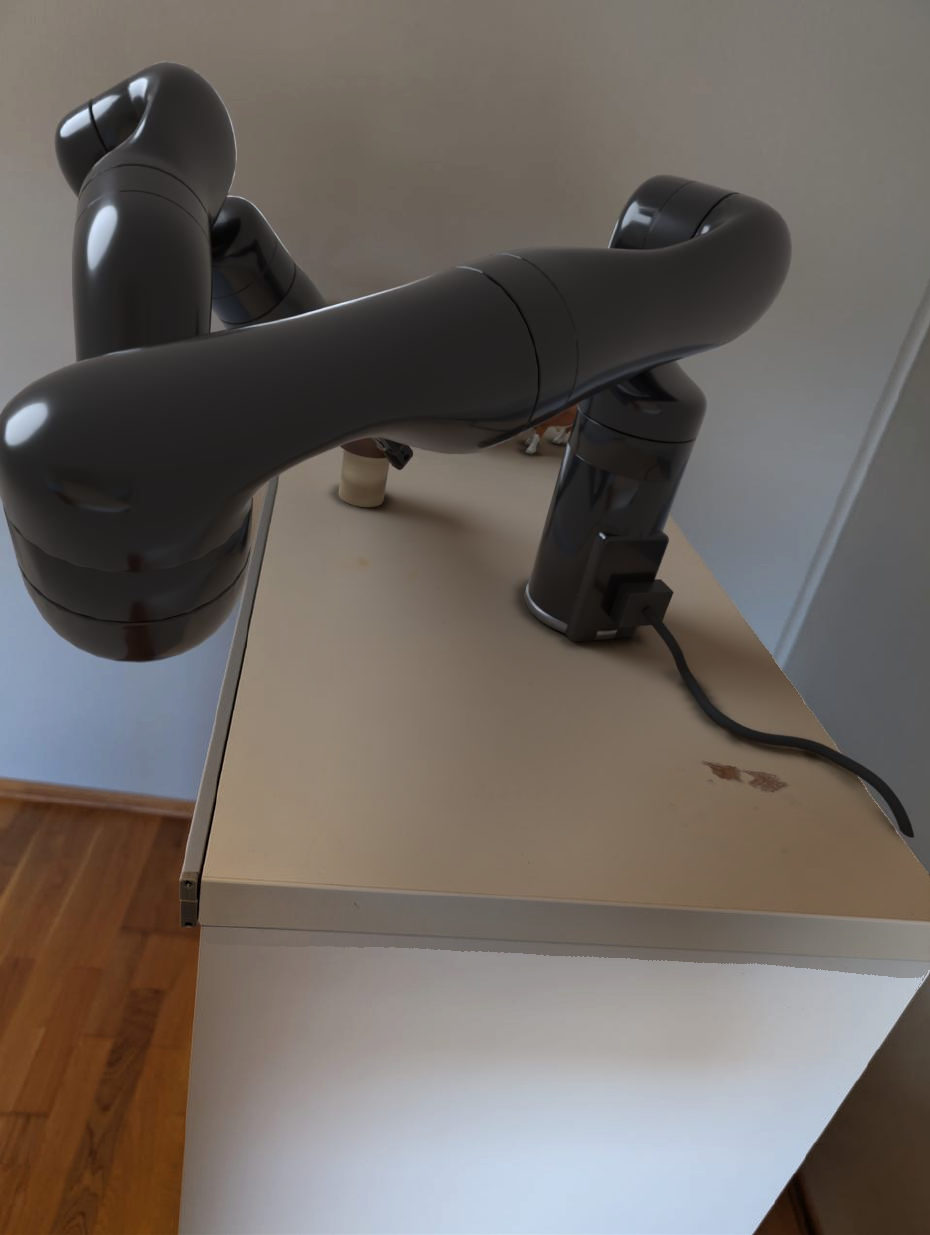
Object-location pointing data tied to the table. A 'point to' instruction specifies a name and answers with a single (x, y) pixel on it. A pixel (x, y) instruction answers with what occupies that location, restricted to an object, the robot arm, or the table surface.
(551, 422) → the bull figurine
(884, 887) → the table surface
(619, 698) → the table surface
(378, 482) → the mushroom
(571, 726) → the table surface
